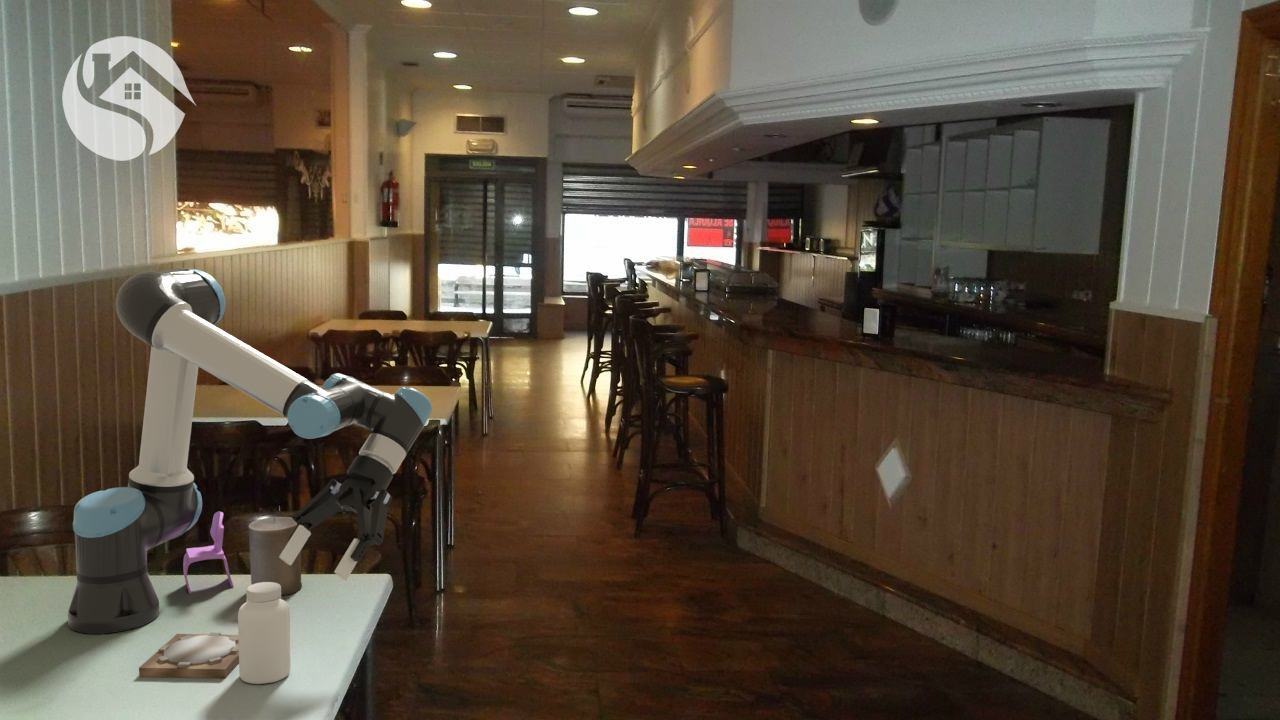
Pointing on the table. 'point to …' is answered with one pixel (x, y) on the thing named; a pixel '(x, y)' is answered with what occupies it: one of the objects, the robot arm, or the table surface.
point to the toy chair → (208, 549)
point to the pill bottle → (264, 635)
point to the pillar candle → (273, 554)
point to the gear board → (194, 657)
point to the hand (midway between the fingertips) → (311, 568)
